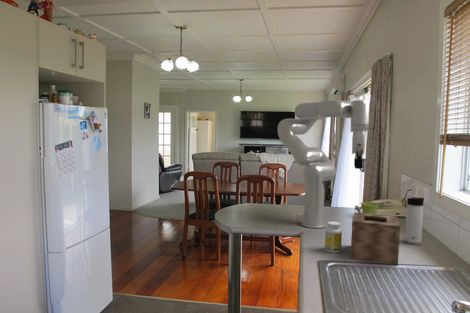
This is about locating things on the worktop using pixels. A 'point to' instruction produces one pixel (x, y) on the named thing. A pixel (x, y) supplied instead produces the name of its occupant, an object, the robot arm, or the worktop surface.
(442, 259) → the worktop surface
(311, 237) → the worktop surface
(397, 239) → the box
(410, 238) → the travel mug
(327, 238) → the pill bottle
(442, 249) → the worktop surface
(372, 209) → the plant pot
